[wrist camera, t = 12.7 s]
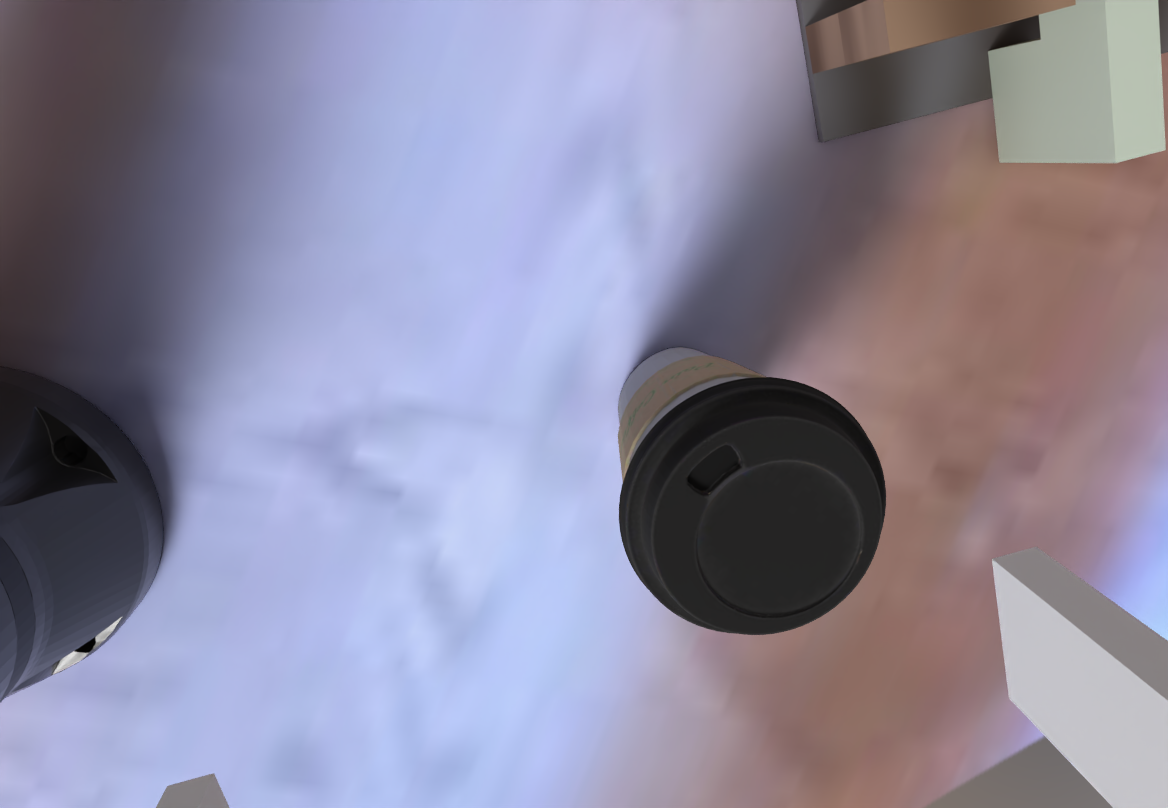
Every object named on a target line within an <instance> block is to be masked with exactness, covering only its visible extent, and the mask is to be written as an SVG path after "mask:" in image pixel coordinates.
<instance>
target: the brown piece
mask: <svg viewBox="0 0 1168 808" xmlns="http://www.w3.org/2000/svg"><path fill="white" fill-rule="evenodd" d="M796 3H797V9H798V16H799V22H800V28H801V34H802V40H803V46H804V53H805V59H806V65H807V71H808V77H809V83H810V90H811V96H812V102H813V108H814V114H815V121H816V127H817V133H818V139H819V142H825V141H829V140H833V139H837V138H841V137H845V136H848V135H852V134H856V133H860V132H864V131H867V130H871V129H875V128H879V127H883V126H887V125H890V124H894V123H898V122H902V121H906V120H910V119H913V118H917V117H921V116H925V115H929V114H932V113H936V112H940V111H944V110H948V109H952V108H955V107H959V106H963V105H967V104H971V103H975V102H978V101H982V100H986V99H990V98H993V95H992V86H991V76H990V66H989V57H988V51H991V50H994V49H998V48H1002V47H1006V46H1010V45H1014V44H1018V43H1021V42H1025V41H1029V40H1033V39H1038V38H1041V36H1040V24H1039V14H1043V13H1047V12H1051V11H1054V10H1058V9H1062V8H1066V7H1069V6H1073V5H1076V0H796ZM1158 8H1159V28H1160V48H1161V54H1162V53H1166V52H1168V0H1158Z"/></svg>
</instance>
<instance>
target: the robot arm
mask: <svg viewBox="0 0 1168 808" xmlns="http://www.w3.org/2000/svg"><path fill="white" fill-rule="evenodd" d="M162 544H163V519H162V512H161V506H160V502H159V497H158V494H157V491H156V488H155V485H154V482H153V480H152V477H151V475H150V473H149V471H148V469H147V467H146V465H145V463H144V461H143V460H142V458H141V456H140V455H139V453H138V452H137V450H136V449H135V447H134V446H133V445H132V443H131V442H130V441H129V439H128V438H127V437H126V436H125V435H124V433H123V432H122V431H121V430H120V429H119V428H118V427H117V426H116V425H115V424H114V423H113V422H112V421H111V420H110V419H109V418H108V417H107V416H106V415H104V414H103V413H102V412H101V411H100V410H98V409H97V408H96V407H94V406H93V405H92V404H90V403H89V402H88V401H86V400H85V399H83V398H81V397H80V396H78V395H77V394H75V393H73V392H72V391H70V390H68V389H66V388H64V387H62V386H60V385H58V384H56V383H54V382H51V381H49V380H47V379H44V378H41V377H39V376H36V375H33V374H30V373H26V372H23V371H19V370H15V369H10V368H5V367H0V702H1V701H2V700H3V699H4V698H6V697H8V696H10V695H12V694H14V693H17V692H19V691H21V690H23V689H25V688H27V687H29V686H31V685H33V684H36V683H38V682H40V681H42V680H44V679H46V678H48V677H50V676H51V675H53V674H56V673H58V672H61V671H63V670H65V669H67V668H69V667H71V666H73V665H75V664H76V663H78V662H80V661H81V660H83V659H85V658H86V657H88V656H89V655H91V654H92V653H93V652H95V651H96V650H97V649H99V648H100V647H101V646H102V645H103V644H105V643H106V642H107V641H108V640H109V639H110V638H111V637H112V636H113V635H114V634H115V633H116V632H117V631H118V630H119V628H120V627H121V626H122V625H123V624H124V622H125V621H126V620H127V619H128V618H129V616H130V615H131V614H132V613H133V611H134V610H135V609H136V608H137V606H138V605H139V604H140V602H141V601H142V600H143V598H144V596H145V595H146V593H147V591H148V590H149V588H150V586H151V584H152V582H153V579H154V577H155V574H156V572H157V569H158V565H159V562H160V557H161V552H162ZM992 564H993V572H994V580H995V588H996V596H997V604H998V612H999V620H1000V629H1001V637H1002V645H1003V653H1004V661H1005V669H1006V677H1007V685H1008V693H1009V699H1010V700H1011V701H1012V702H1013V703H1014V704H1015V705H1016V706H1017V707H1018V708H1019V709H1020V710H1021V711H1022V712H1023V713H1024V714H1025V715H1026V716H1027V718H1028V719H1029V720H1030V721H1031V722H1032V723H1033V724H1034V725H1035V726H1036V727H1037V728H1038V729H1039V730H1040V731H1041V732H1042V733H1043V734H1044V735H1045V736H1046V737H1047V739H1048V740H1049V741H1050V742H1051V743H1052V744H1053V745H1054V746H1055V747H1056V748H1057V749H1058V750H1059V751H1060V752H1061V753H1062V754H1063V755H1064V756H1065V757H1066V758H1067V759H1068V761H1069V762H1070V763H1071V764H1072V765H1073V766H1074V767H1075V768H1076V769H1077V770H1078V771H1079V772H1080V773H1081V774H1082V775H1083V776H1084V777H1085V778H1086V780H1087V781H1088V782H1089V783H1090V784H1091V785H1092V786H1093V787H1094V788H1095V789H1096V790H1097V791H1098V792H1099V793H1100V794H1101V795H1102V796H1103V797H1104V798H1105V799H1106V801H1107V802H1108V803H1109V804H1110V805H1111V806H1112V807H1113V808H1168V641H1167V640H1166V639H1164V638H1163V637H1161V636H1160V635H1159V634H1157V633H1156V632H1155V631H1153V630H1152V629H1150V628H1149V627H1148V626H1146V625H1145V624H1143V623H1142V622H1141V621H1139V620H1138V619H1136V618H1135V617H1134V616H1132V615H1131V614H1129V613H1128V612H1127V611H1125V610H1124V609H1122V608H1121V607H1120V606H1118V605H1117V604H1115V603H1114V602H1113V601H1111V600H1110V599H1109V598H1107V597H1106V596H1104V595H1103V594H1102V593H1100V592H1099V591H1097V590H1096V589H1095V588H1093V587H1092V586H1090V585H1089V584H1088V583H1086V582H1085V581H1083V580H1082V579H1081V578H1079V577H1078V576H1076V575H1075V574H1074V573H1072V572H1071V571H1069V570H1068V569H1067V568H1065V567H1064V566H1062V565H1061V564H1060V563H1058V562H1057V561H1056V560H1054V559H1053V558H1051V557H1050V556H1049V555H1047V554H1046V553H1044V552H1043V551H1042V550H1040V549H1039V548H1037V547H1033V548H1030V549H1026V550H1022V551H1019V552H1015V553H1011V554H1008V555H1004V556H1001V557H997V558H993V559H992ZM156 808H229V806H228V804H227V801H226V799H225V797H224V795H223V792H222V790H221V788H220V786H219V784H218V781H217V779H216V777H215V775H214V773H213V774H209V775H206V776H202V777H199V778H195V779H191V780H188V781H184V782H180V783H177V784H173V785H170V786H167V788H166V790H165V792H164V793H163V795H162V797H161V799H160V801H159V803H158V805H157V807H156Z"/></svg>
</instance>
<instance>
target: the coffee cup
mask: <svg viewBox="0 0 1168 808" xmlns="http://www.w3.org/2000/svg"><path fill="white" fill-rule="evenodd" d="M618 413H619V423H620V426H619V433H618V443H619V453H620V461H621V470H622V479H623V485H622V490H621V495H620V504H619V523H620V532H621V537H622V542H623V545H624V548H625V552H626V554H627V557H628V559H629V561H630V563H631V565H632V567H633V569H634V571H635V572H636V574H637V575H638V577H639V578H640V580H641V581H642V582H643V584H644V585H645V586H646V587H647V588H648V589H649V590H650V592H651V593H652V594H653V595H654V596H655V597H656V598H657V599H658V600H659V601H660V602H661V603H662V604H663V605H664V606H665V607H667V608H668V609H669V610H670V611H672V612H673V613H675V614H676V615H678V616H680V617H681V618H683V619H685V620H687V621H689V622H691V623H693V624H696V625H698V626H701V627H704V628H707V629H711V630H715V631H720V632H727V633H738V634H747V635H765V634H774V633H779V632H784V631H788V630H792V629H795V628H797V627H800V626H803V625H805V624H807V623H810V622H812V621H814V620H816V619H818V618H819V617H821V616H823V615H824V614H826V613H827V612H829V611H830V610H832V609H833V608H834V607H836V606H837V605H838V604H839V603H840V602H841V601H843V600H844V599H845V598H846V597H847V596H848V595H849V594H850V593H851V592H852V590H853V589H854V588H855V587H856V586H857V584H858V583H859V582H860V580H861V579H862V577H863V576H864V574H865V573H866V571H867V569H868V568H869V566H870V564H871V561H872V559H873V557H874V554H875V552H876V549H877V546H878V542H879V539H880V534H881V530H882V527H883V522H884V516H885V507H886V489H885V480H884V475H883V470H882V467H881V464H880V461H879V458H878V456H877V453H876V451H875V449H874V447H873V445H872V443H871V441H870V440H869V438H868V437H867V435H866V433H865V432H864V430H863V429H862V427H861V425H860V424H859V423H858V422H857V420H856V419H855V418H854V417H853V416H852V415H851V414H850V413H849V412H848V411H847V410H846V409H845V408H844V407H843V406H842V405H841V404H839V403H838V402H837V401H836V400H834V399H833V398H831V397H830V396H828V395H827V394H825V393H823V392H821V391H819V390H817V389H815V388H813V387H810V386H808V385H805V384H802V383H799V382H795V381H791V380H786V379H780V378H771V377H765V376H763V375H761V374H758V373H756V372H754V371H752V370H750V369H747V368H745V367H743V366H741V365H738V364H736V363H734V362H731V361H728V360H726V359H723V358H720V357H714V356H710V355H708V354H705V353H703V352H700V351H698V350H695V349H692V348H684V347H677V348H669V349H666V350H663V351H660V352H658V353H656V354H654V355H652V356H650V357H649V358H647V359H646V360H645V361H643V362H642V363H641V364H640V365H639V366H637V368H636V369H635V370H634V371H633V372H632V373H631V374H630V376H629V377H628V379H627V381H626V382H625V384H624V386H623V388H622V391H621V393H620V397H619V403H618Z"/></svg>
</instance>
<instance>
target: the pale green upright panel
mask: <svg viewBox="0 0 1168 808" xmlns="http://www.w3.org/2000/svg"><path fill="white" fill-rule="evenodd" d="M1039 24H1040V36H1041V38H1038V39H1033V40H1029V41H1025V42H1021V43H1018V44H1014V45H1010V46H1006V47H1002V48H998V49H994V50H991V51H988V57H989V66H990V76H991V86H992V95H993V105H994V115H995V124H996V134H997V144H998V153H999V162H1002V163H1118V162H1122V161H1126V160H1129V159H1133V158H1137V157H1141V156H1145V155H1148V154H1152V153H1156V152H1160V151H1164V150H1166V149H1165V129H1164V109H1163V88H1162V68H1161V48H1160V28H1159V8H1158V0H1076V5H1073V6H1069V7H1066V8H1062V9H1058V10H1054V11H1051V12H1047V13H1043V14H1039Z"/></svg>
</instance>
